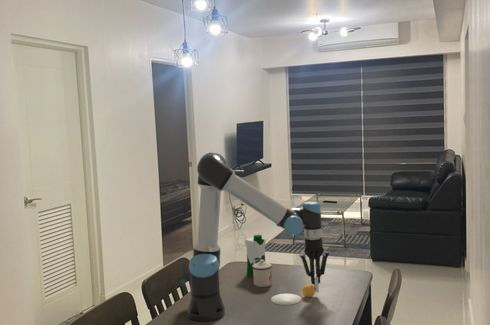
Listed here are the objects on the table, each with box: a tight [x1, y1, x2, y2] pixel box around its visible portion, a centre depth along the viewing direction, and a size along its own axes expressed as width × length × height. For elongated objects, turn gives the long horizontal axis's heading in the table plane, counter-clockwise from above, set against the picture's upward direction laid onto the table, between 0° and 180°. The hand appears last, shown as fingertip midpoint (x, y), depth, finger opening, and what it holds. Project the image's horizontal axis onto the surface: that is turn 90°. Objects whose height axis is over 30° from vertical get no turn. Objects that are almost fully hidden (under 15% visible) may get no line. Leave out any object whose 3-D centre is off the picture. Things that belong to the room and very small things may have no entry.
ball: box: [301, 283, 316, 298], centre depth 218 cm, size 6×6×6 cm
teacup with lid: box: [252, 260, 273, 288], centre depth 239 cm, size 12×9×12 cm
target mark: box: [270, 293, 302, 306], centre depth 217 cm, size 13×13×1 cm
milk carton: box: [244, 234, 267, 277], centre depth 252 cm, size 9×9×20 cm
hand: (316, 290), depth 219 cm, fingers closed
